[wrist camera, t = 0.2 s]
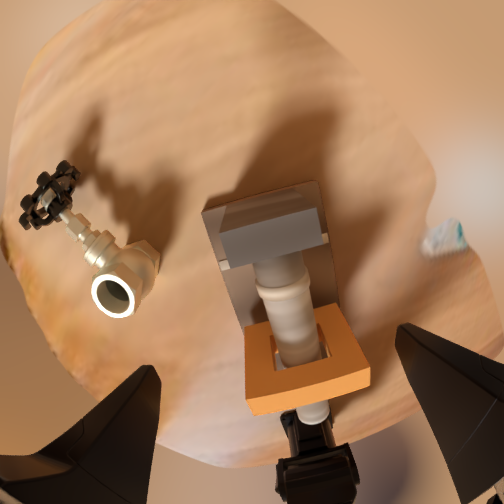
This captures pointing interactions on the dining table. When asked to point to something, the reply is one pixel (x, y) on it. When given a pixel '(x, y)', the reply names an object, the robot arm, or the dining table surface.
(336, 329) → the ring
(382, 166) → the dining table surface
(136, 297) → the valve
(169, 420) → the dining table surface
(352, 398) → the dining table surface
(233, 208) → the pipe stand
